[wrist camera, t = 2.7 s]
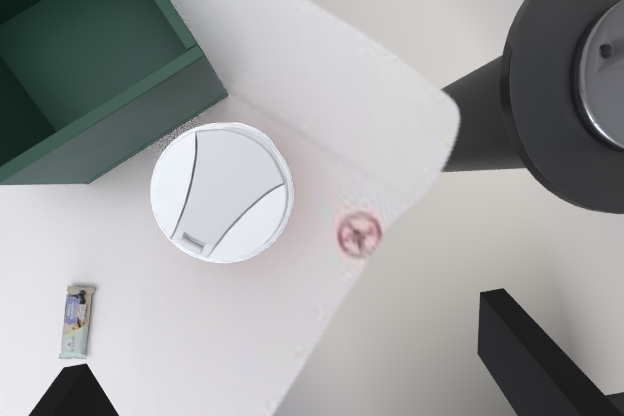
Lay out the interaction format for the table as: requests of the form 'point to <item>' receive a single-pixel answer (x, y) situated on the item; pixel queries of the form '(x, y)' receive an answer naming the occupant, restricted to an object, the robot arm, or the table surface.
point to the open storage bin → (93, 85)
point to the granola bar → (76, 322)
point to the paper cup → (222, 192)
